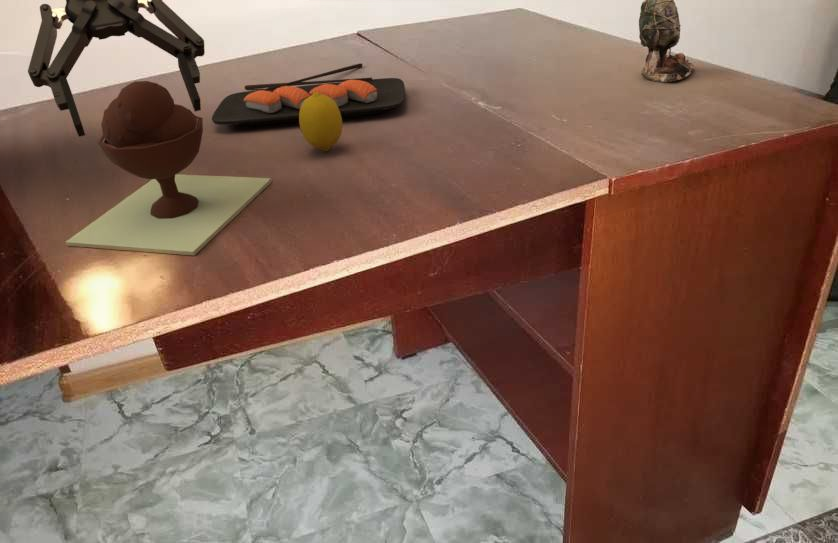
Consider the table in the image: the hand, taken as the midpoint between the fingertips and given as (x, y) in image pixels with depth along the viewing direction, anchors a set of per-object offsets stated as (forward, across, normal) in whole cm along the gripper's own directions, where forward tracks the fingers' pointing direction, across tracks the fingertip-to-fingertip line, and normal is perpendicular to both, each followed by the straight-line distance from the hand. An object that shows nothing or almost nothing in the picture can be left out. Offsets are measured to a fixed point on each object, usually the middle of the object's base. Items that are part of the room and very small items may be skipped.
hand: (140, 117), depth 83 cm
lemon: (+8, -21, -5) cm, 23 cm away
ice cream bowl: (+12, 0, 0) cm, 12 cm away
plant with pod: (+11, -75, -1) cm, 76 cm away
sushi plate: (-9, -29, -22) cm, 37 cm away
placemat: (+13, 0, 0) cm, 13 cm away
